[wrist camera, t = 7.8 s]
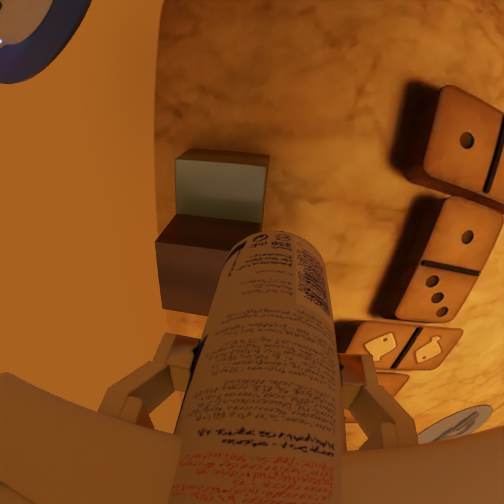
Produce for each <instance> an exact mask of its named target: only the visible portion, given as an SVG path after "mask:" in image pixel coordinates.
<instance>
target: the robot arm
mask: <svg viewBox="0 0 504 504" xmlns="http://www.w3.org/2000/svg"><path fill="white" fill-rule="evenodd" d="M52 2H53V0H0V48H2V47H3V46H5V45H14V44H17V43H20V42H22V41H23V40H25V39H26V38H28V37H29V36H30V35H31V34H32V33H33V32H34V31H35V30H36V28H37V27H38V26H39V25H40V23H41V22H42V20H43V19H44V17H45V16H46V14H47V12H48V10H49V8H50V6H51V4H52ZM200 341H201V339H197V338H192V337H187V336H182V335H176V334H171V333H165V334H164V335H163V337H162V340H161V342H160V344H159V347H158V349H157V352H156V354H155V356H154V359H153V361H152V362H151V361H149V362H147V363H146V364H144V365H143V366H141V367H140V368H138V369H137V370H135V371H134V372H132V373H130V374H129V375H128V376H126V377H125V378H123V379H121V380H120V381H118V382H117V383H115V384H114V385H112V386H111V387H109V388H108V390H107V392H106V394H105V396H104V398H103V401H102V403H101V405H100V407H99V409H98V411H97V412H96V411H93V410H90V409H87V408H85V407H82V406H80V405H77V404H75V403H72V402H70V401H67V400H65V399H63V398H60V397H58V396H55V395H53V394H51V393H49V392H47V391H45V390H42V389H40V388H38V387H36V386H34V385H32V384H30V383H28V382H26V381H24V380H22V379H20V378H18V377H16V376H15V375H13V374H11V373H7V372H4V373H1V374H0V504H167V503H168V499H169V496H170V492H171V488H172V484H173V480H174V476H175V472H176V469H177V465H178V461H179V457H180V450H181V442H182V439H181V436H179V435H176V434H171V433H166V432H163V431H158V430H155V429H154V426H153V424H152V421H151V419H150V417H149V414H150V413H151V412H152V411H153V410H154V409H155V408H156V407H157V406H159V405H160V404H161V403H162V402H163V401H164V400H165V399H167V398H168V397H169V396H170V395H171V394H172V393H173V392H174V390H176V391H181V392H186V388H187V385H188V381H189V378H190V375H191V371H192V368H193V364H194V361H195V358H196V354H197V351H198V348H199V344H200ZM338 359H339V368H340V377H341V386H342V396H343V407H344V408H346V409H348V410H349V411H350V413H351V414H352V415H353V417H354V418H355V420H356V421H357V423H358V424H359V426H360V427H361V429H362V430H363V431H364V433H365V434H366V436H367V437H368V440H367V441H366V442H365V443H364V444H363V445H362V446H361V447H360V448H359V450H354V451H343V453H342V462H341V493H342V504H504V426H498V427H495V428H491V429H488V430H484V431H480V432H477V433H473V434H469V435H464V436H460V437H456V438H451V439H446V440H441V441H435V442H430V443H424V444H419V442H418V437H417V432H416V427H415V422H414V419H413V418H412V417H411V416H410V415H409V414H408V413H407V412H406V411H405V410H404V409H403V408H402V407H401V406H400V404H399V403H398V402H397V401H396V400H395V399H394V398H393V397H392V396H391V395H390V394H389V393H388V392H387V391H386V390H385V389H384V388H383V386H379V385H378V380H377V375H376V371H375V366H374V361H373V357H372V355H362V354H360V355H359V354H339V353H338Z"/></svg>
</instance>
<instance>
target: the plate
mask: <svg viewBox="0 0 504 504" xmlns="http://www.w3.org/2000/svg"><path fill="white" fill-rule="evenodd" d="M491 414H492V407H491V406H489V405H479V406H474V407H471V408H468V409H465V410H462V411H460V412H457V413H455V414H452V415H450V416H448V417H446V418H444V419H442V420H440V421H438V422H436V423H434V424H433V425H431V426H430V427H428V428H426V429H425V430H423V431H422V432H421V433H420V434H418V435H417V437H418V442H419V444H424V443H430V442H435V441H441V440H446V439H451V438H456V437H460V436H464V435H469V434H471V433H472V432H474V431H475V430H477V429H478V428H479V427H480V426H482V425H483V424H484V423H485V422H486V421H487V420H488V418H489V417H490V415H491Z"/></svg>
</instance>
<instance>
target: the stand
mask: <svg viewBox="0 0 504 504" xmlns="http://www.w3.org/2000/svg"><path fill="white" fill-rule="evenodd" d="M268 165H269V155H262V154H252V153H242V152H231V151H218V150H203V149H189V150H187V151H186V152H185V153H183V154H182V155H181V156H179V157H178V158H176V159H175V193H176V215H175V216H174V217H173V219H172V220H171V221H170V223H169V224H168V225H167V227H166V228H165V229H164V231H163V232H162V233H161V234H160V236H159V237H158V239H157V240H156V241H155V248H156V258H157V268H158V277H159V285H160V293H161V301H162V308H163V309H168V310H174V311H179V312H185V313H191V314H197V315H203V316H208V315H209V311H210V308H211V305H212V302H213V299H214V295H215V292H216V289H217V286H218V283H219V279H220V276H221V273H222V270H223V267H224V263H225V260H226V257H227V255H228V253H229V252H230V250H231V249H232V248H233V247H234V246H235V245H236V244H237V243H238V242H240V241H241V240H243V239H244V238H246V237H248V236H250V235H253V234H256V233H259V232H261V231H262V221H263V212H264V203H265V193H266V184H267V175H268Z"/></svg>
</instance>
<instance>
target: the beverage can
mask: <svg viewBox="0 0 504 504" xmlns="http://www.w3.org/2000/svg"><path fill="white" fill-rule="evenodd" d="M174 434H176V435H179V436H181V439H182V442H181V450H180V457H179V461H178V465H177V469H176V472H175V476H174V480H173V484H172V488H171V492H170V496H169V499H168V503H167V504H342V493H341V462H342V453H343V451H347V447H346V432H345V419H344V407H343V396H342V386H341V377H340V368H339V359H338V351H337V343H336V336H335V328H334V321H333V314H332V307H331V301H330V294H329V288H328V282H327V276H326V270H325V265H324V262H323V259H322V257H321V255H320V254H319V252H318V251H317V250H316V249H315V247H314V246H313V245H311V244H310V243H309V242H308V241H306V240H305V239H303V238H301V237H299V236H297V235H294V234H291V233H287V232H282V231H265V232H259V233H256V234H253V235H250V236H248V237H246V238H244V239H243V240H241V241H240V242H238V243H237V244H236V245H235V246H234V247H233V248H232V249H231V250H230V252H229V253H228V255H227V257H226V260H225V263H224V267H223V270H222V273H221V276H220V279H219V283H218V286H217V289H216V292H215V295H214V299H213V302H212V305H211V308H210V311H209V315H208V318H207V321H206V325H205V328H204V331H203V334H202V338H201V341H200V344H199V348H198V351H197V354H196V358H195V361H194V364H193V368H192V371H191V375H190V378H189V381H188V385H187V388H186V392H185V395H184V399H183V402H182V406H181V409H180V413H179V416H178V420H177V423H176V427H175V431H174Z"/></svg>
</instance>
